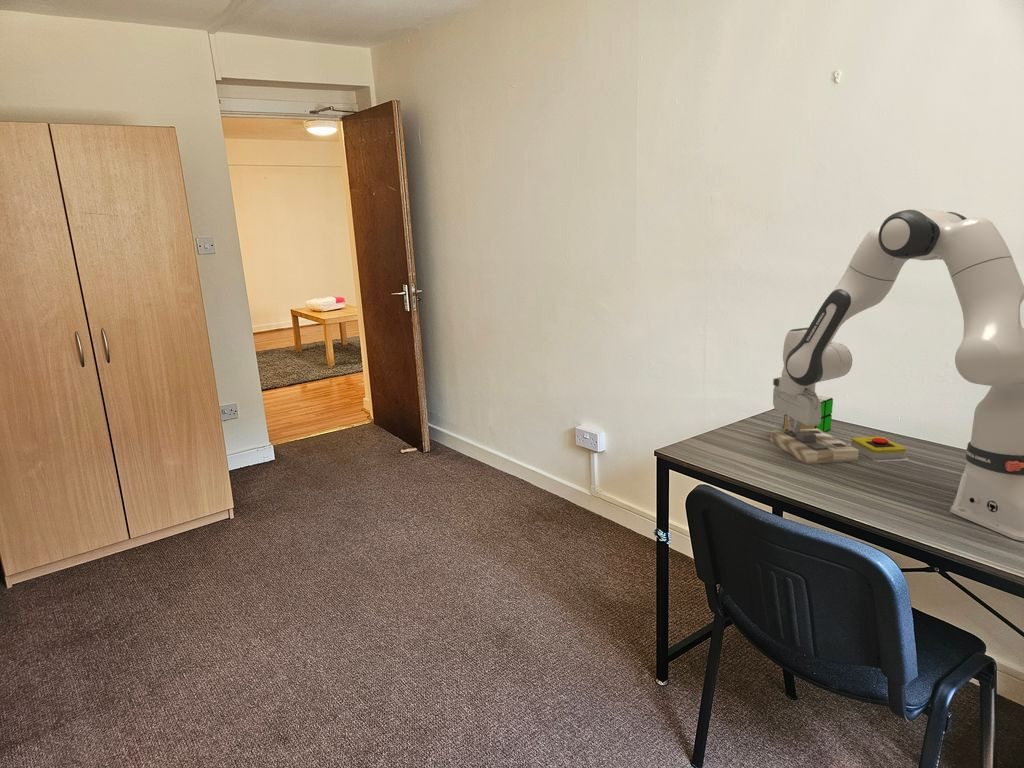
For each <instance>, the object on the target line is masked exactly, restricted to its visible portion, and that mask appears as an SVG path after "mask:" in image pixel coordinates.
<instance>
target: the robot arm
mask: <svg viewBox="0 0 1024 768" xmlns="http://www.w3.org/2000/svg"><path fill="white" fill-rule="evenodd" d="M1005 241H1006V240H1005V239H1004V238H1003V236H1002V234H1001V232H1000V231H999V230H998V229H997V227H996V226H995V224H994V223H993V221H991V220H989V219H987V218H985V217H969V218H966V216H964V215H962V214H959V213H957V212H954V211H942V210H936V209H926V208H925V209H904V210H901V211H897V212H895V213H892V214H891V215H889V216H888V217H886V218H885V220H884V221H883V222H882V224H881V225H878V226H875V227H873V228H871V229H870V230H869V231H868V232H867V234H865V236H864V238H863V239H862V241H861V242H860V243H859V245H858V246H857V249H856V250H855V252H854V254H853V255H852V257H851V259H850V262H849V263H848V265H847V268H845V269H846V270H845V271H844V273H843V275H842V277H841V278H840V280H839V282H838V283H837V285H836V286H835V287H834V289H833V290H832V291H831V292H830V293H829V295H828V296H827V297H826V298H825V300H824V302H823V303H822V304H821V306H820V307H819V309H818V311H817V312H816V314H815V316H814V318H813V320H812V321H811V323H810V325H809V327H802V328H793V329H790V330H788V332H787V333H786V335H785V339H784V343H783V348H782V349H783V351H782V361H783V368H782V371H781V376H779V377H774V378H773V379H772V385H773V395H772V403H773V404H772V406H773V409H775V410H776V411H779V412H780V413H782V414H784V415H785V414H786V415H788V418H787V419H788V422H789V431H791V432H792V433H794V434H796V433H797V432H800V429H801V427H802V425H803V424H805V425H807V426H818V425H819V424H820V423H821V402H820V400H819V398H818V397H817V396H818V395H817V392H815V391H816V383H821V382H825V381H830V380H835V379H838V378H842V377H844V376H846V375H847V374H848V373H849V372H850V371H851V369H852V366H853V357H852V353H851V351H850V350H849V348H848V347H847V346H845V345H844V344H843V343H839V342H835V341H833V339H834V337H835V336H836V334H837V332H838V331H839V329H840V328H841V326H843V325H844V323H845V322H846V321H848V320H849V319H850V318H852V317H854V316H855V315H857V314H860V313H861V312H863V311H865V310H868V309H870V308H872V307H875V306H877V305H878V304H880V303H881V302H882V301H883V300H884V299H885V298H886V296H887V295H888V294H889V293H890V291H891V290H892V288H893V286H894V284H895V282H896V280H897V278H898V276H899V274H900V272H901V270H902V268H903V266H904V265H905V263H906V262H908V261H909V260H918V261H934V260H935V261H936V260H942V261H943V262H944V264H945V265H946V267H947V270H948V273H949V274H948V275H949V276H950V279H951V281H952V284H953V287H954V289H955V293H956V295H957V296H956V297H957V299H958V301H959V304H960V307H961V311H962V317H963V336H962V337H963V338H962V340H961V343H960V344H959V345H958V348H957V349H956V351H955V354H954V355H955V356H954V363H955V368H956V370H957V372H958V373H959V375H960V376H961V377H962V378H963V379H964V380H966V381H967V382H969V383H972V384H975V385H982V386H988V387H990V388H989V391H987V393H986V395H985V396H984V398H983V399H982V400H980V401H979V402H978V403H977V405H976V406H975V409H974V414H973V420H972V427H971V428H972V429H971V436H970V441H969V442H968V443H967V448H966V449H965V452H966V453H965V460H966V465H965V469H964V471H963V472H962V475H961V477H960V482H959V485H958V489H957V493H956V496H955V498H954V500H953V503H952V505H951V506H950V510H949V512H950V513H951V514H954V515H956V516H959V517H961V518H963V519H965V520H968V521H970V522H973V523H975V524H977V525H979V526H982V527H984V528H987V529H990V531H991V530H992V531H993V532H996V533H997V534H1001V535H1003V536H1006V537H1008V538H1010V539H1013V540H1015V541H1021V542H1024V327H1023V325H1022V322H1021V305H1022V303H1023V302H1024V283H1023V281H1022V277H1021V275H1020V272H1019V270H1018V268H1017V265H1016V262H1015V260H1014V258H1013V255H1012V253H1011V251H1010V249H1009V247H1008V245H1007V243H1006V242H1005Z"/></svg>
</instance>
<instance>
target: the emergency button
mask: <svg viewBox="0 0 1024 768" xmlns="http://www.w3.org/2000/svg"><path fill="white" fill-rule="evenodd" d="M847 444H848V445H850V446H852V447H854V448H856V449H858V450H859V453H858V454H861V455H862V456H864V457H866V458H869V459H870V460H872V461H873V460H874V461H873V462H876V461H877V462H876V463H890V462H889V461H894V462H907V461H908V460H909V461H910V459H909V458H908V457H907V455H906V453H907V449H906V447H905V446H902V445H900V444H898V443H896V442H894V441H892V440H889V439H887V438H886V437H883V436H868V437H867V436H864V437H860V436H859V437H852V438H851V442H850V443H847Z"/></svg>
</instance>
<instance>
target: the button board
mask: <svg viewBox="0 0 1024 768" xmlns="http://www.w3.org/2000/svg"><path fill="white" fill-rule="evenodd" d="M785 431H789V430H784V429H782V430H770V442H772V443H773V444H775V445H776V446H778V447H779V448H781V449H782V450H784V451H785V452H787V453H789V454H790V455H792V456H793V457H795V459H798V460H800V461H801V462H803V463H804V464H807V465H808V464H826V463H828V464H829V463H830V464H831V463H844V462H858V461H859V454H860V453H859V450H858V449H856V448H854V447H852V446H850V445H848V444H849V443H846V442H844V441H843V440H840V439H838V438H837V437H835V436H833V435H831V434H828V433H827V432H826V431H825V432H823V431H821V430H819V429H800V432H804V431H810V432H811V433H813V434H815V435H816V442H815V443H801V442H799V441H797V440H796V437H791V436H789V435H787V434H785ZM818 443H821V444H822V445H824V446H826V447H828V449H826V450H813V449H811V448H809V447H808V446H807V445H808V444H818Z"/></svg>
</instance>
